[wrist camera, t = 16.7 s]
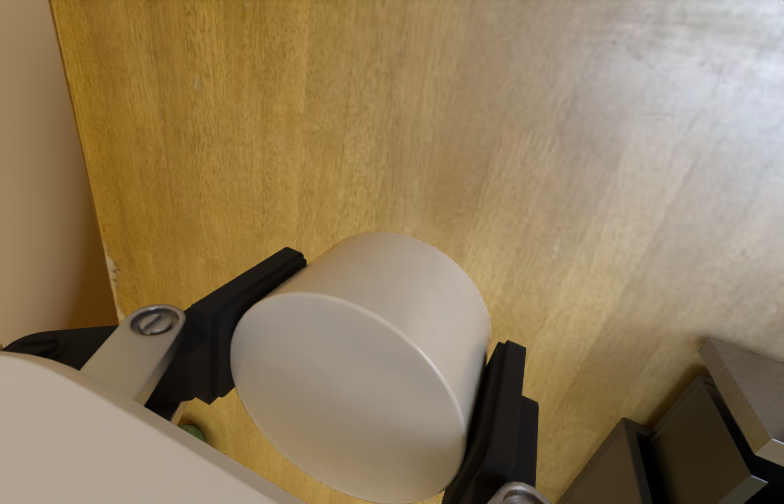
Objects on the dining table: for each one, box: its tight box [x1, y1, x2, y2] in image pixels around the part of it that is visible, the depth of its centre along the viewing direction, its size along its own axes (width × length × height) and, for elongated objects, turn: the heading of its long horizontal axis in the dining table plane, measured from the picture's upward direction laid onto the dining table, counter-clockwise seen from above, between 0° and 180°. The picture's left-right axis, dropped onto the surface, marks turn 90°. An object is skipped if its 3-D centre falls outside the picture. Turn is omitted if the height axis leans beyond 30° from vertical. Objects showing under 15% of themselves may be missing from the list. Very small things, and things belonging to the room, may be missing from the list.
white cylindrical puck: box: [230, 231, 491, 504], centre depth 11 cm, size 6×6×4 cm
